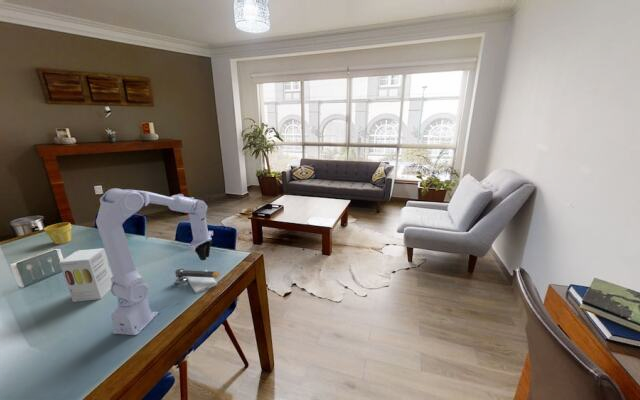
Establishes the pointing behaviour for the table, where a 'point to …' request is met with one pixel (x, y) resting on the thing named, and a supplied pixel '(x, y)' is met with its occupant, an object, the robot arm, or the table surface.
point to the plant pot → (59, 232)
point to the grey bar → (196, 273)
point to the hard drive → (201, 283)
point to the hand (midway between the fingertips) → (204, 258)
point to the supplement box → (87, 274)
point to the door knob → (181, 280)
